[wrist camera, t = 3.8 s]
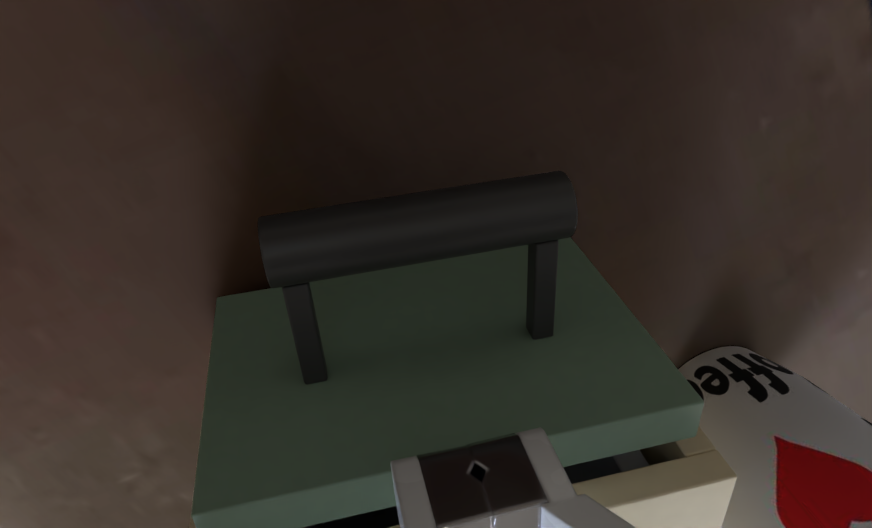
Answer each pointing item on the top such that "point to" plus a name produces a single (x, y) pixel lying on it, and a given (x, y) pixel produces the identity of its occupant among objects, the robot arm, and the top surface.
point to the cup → (783, 444)
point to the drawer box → (663, 487)
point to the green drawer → (422, 354)
